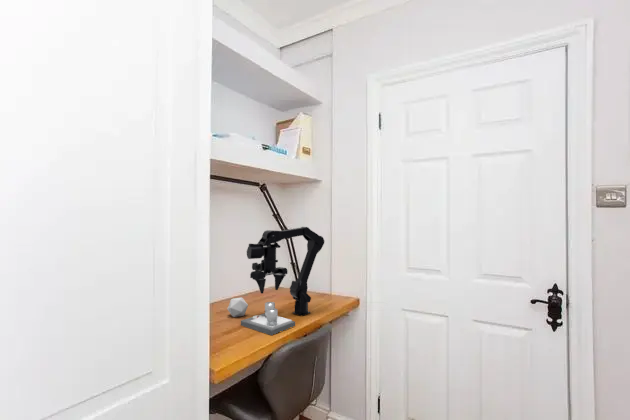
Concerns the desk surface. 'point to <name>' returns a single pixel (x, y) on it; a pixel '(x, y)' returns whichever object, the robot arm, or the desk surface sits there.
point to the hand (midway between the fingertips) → (269, 291)
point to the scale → (261, 324)
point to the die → (237, 307)
